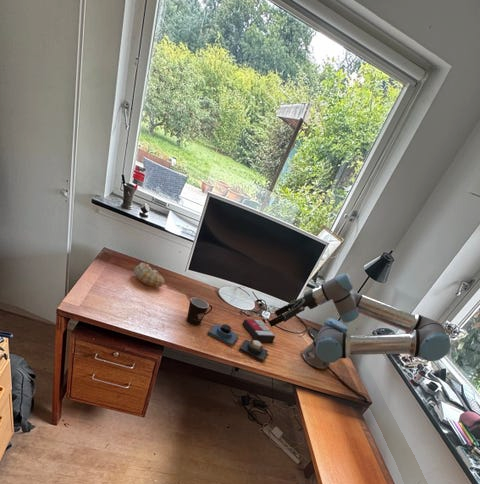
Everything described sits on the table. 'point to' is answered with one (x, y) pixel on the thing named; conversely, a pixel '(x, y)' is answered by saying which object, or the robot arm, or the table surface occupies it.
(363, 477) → the table surface
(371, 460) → the table surface
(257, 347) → the cream key
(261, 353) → the black key block
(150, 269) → the nautilus
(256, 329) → the calculator
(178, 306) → the table surface
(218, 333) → the blue key block
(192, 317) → the coffee mug
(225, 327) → the dark key
